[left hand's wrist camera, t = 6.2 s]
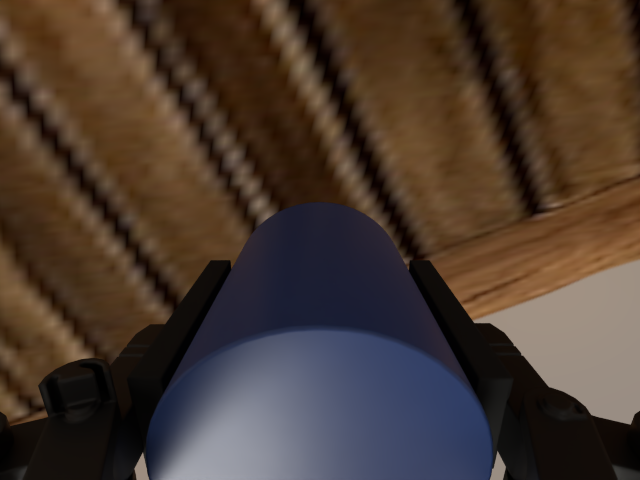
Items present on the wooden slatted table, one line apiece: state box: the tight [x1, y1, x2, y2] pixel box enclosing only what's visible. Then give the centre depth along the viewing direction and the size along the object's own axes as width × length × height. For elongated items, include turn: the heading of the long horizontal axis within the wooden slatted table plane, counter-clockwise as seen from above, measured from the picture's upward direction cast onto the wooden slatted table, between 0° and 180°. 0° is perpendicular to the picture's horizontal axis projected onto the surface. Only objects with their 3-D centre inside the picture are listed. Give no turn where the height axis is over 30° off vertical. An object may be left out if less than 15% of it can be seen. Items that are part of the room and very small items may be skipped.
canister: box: [146, 202, 493, 480], centre depth 11 cm, size 7×7×9 cm
